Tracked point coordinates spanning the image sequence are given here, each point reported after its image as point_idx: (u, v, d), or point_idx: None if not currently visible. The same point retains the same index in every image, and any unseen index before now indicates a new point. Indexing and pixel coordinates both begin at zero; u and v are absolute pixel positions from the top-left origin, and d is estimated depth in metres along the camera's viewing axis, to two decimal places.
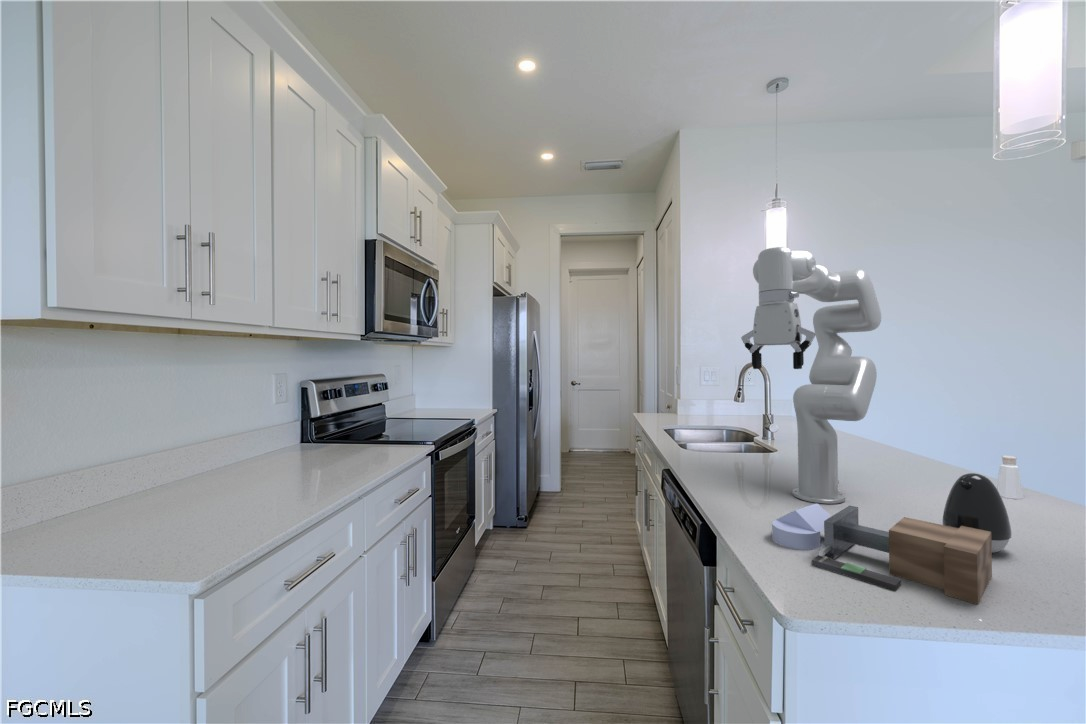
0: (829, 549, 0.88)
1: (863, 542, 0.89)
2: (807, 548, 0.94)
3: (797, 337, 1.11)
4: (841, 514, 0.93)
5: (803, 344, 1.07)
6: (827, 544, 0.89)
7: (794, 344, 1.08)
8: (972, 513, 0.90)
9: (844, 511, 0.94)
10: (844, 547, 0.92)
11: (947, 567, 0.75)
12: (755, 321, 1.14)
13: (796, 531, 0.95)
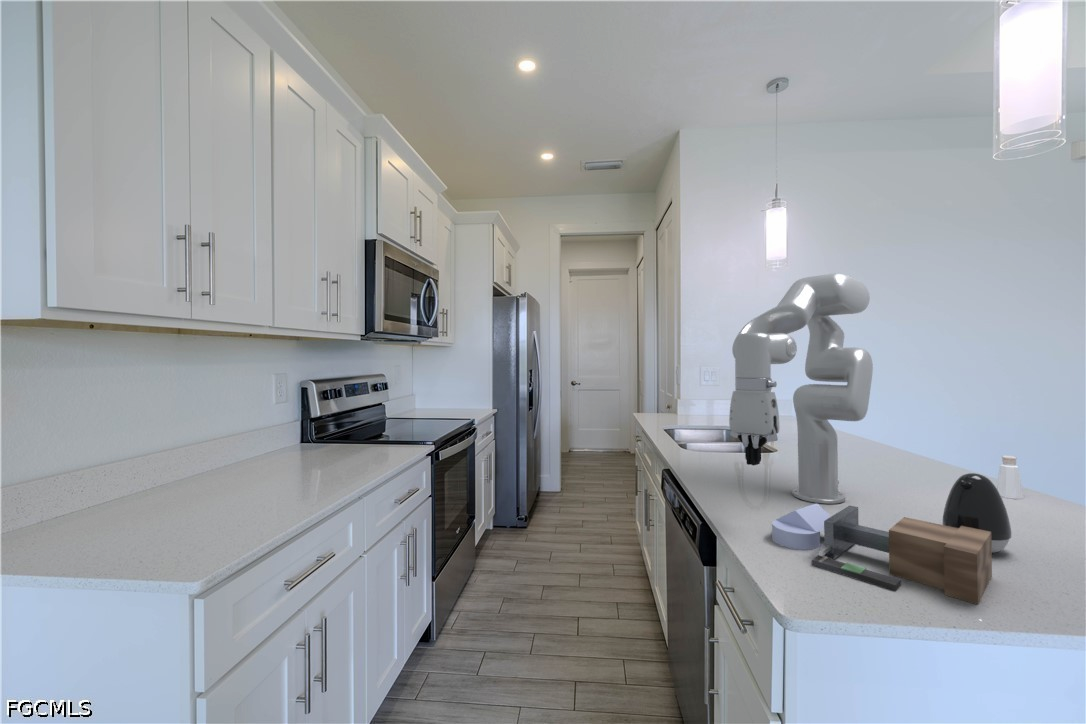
0: (829, 549, 0.88)
1: (863, 542, 0.89)
2: (807, 548, 0.94)
3: (775, 427, 1.05)
4: (841, 514, 0.93)
5: (760, 441, 1.04)
6: (827, 544, 0.89)
7: (757, 440, 1.05)
8: (972, 513, 0.90)
9: (844, 511, 0.94)
10: (844, 547, 0.92)
11: (947, 567, 0.75)
12: (731, 407, 1.09)
13: (796, 531, 0.95)
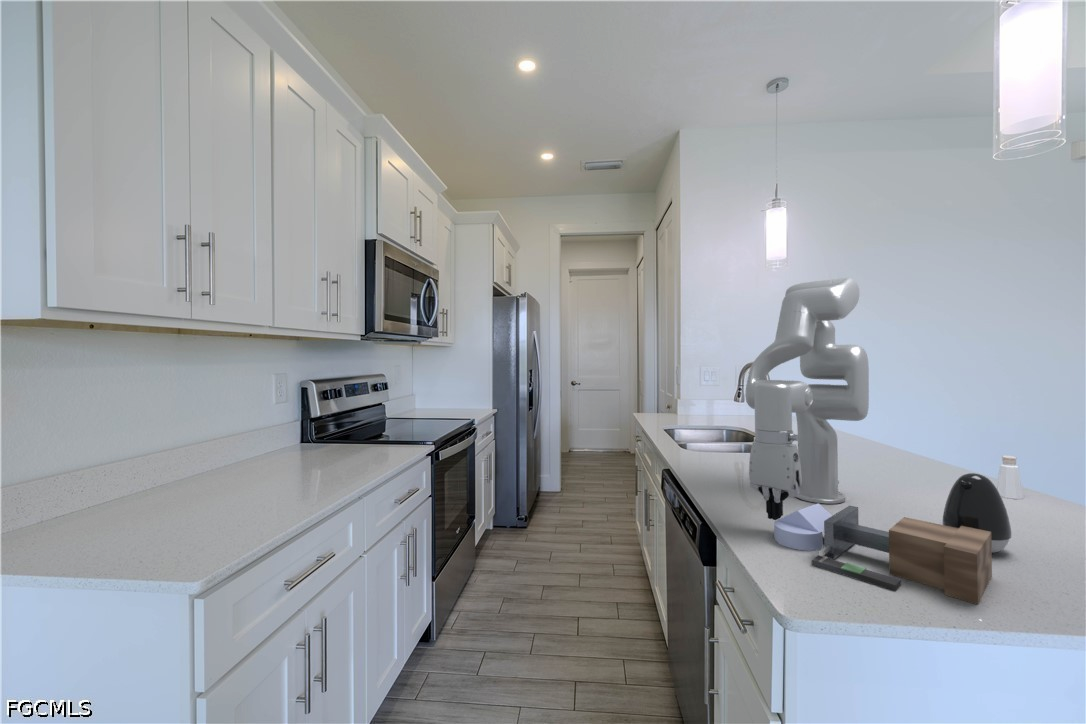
0: (829, 549, 0.88)
1: (863, 542, 0.89)
2: (810, 548, 0.93)
3: (797, 480, 1.02)
4: (841, 514, 0.93)
5: (782, 495, 1.01)
6: (827, 544, 0.89)
7: (778, 494, 1.01)
8: (972, 513, 0.90)
9: (844, 511, 0.94)
10: (844, 547, 0.92)
11: (947, 567, 0.75)
12: (751, 458, 1.05)
13: (799, 531, 0.95)
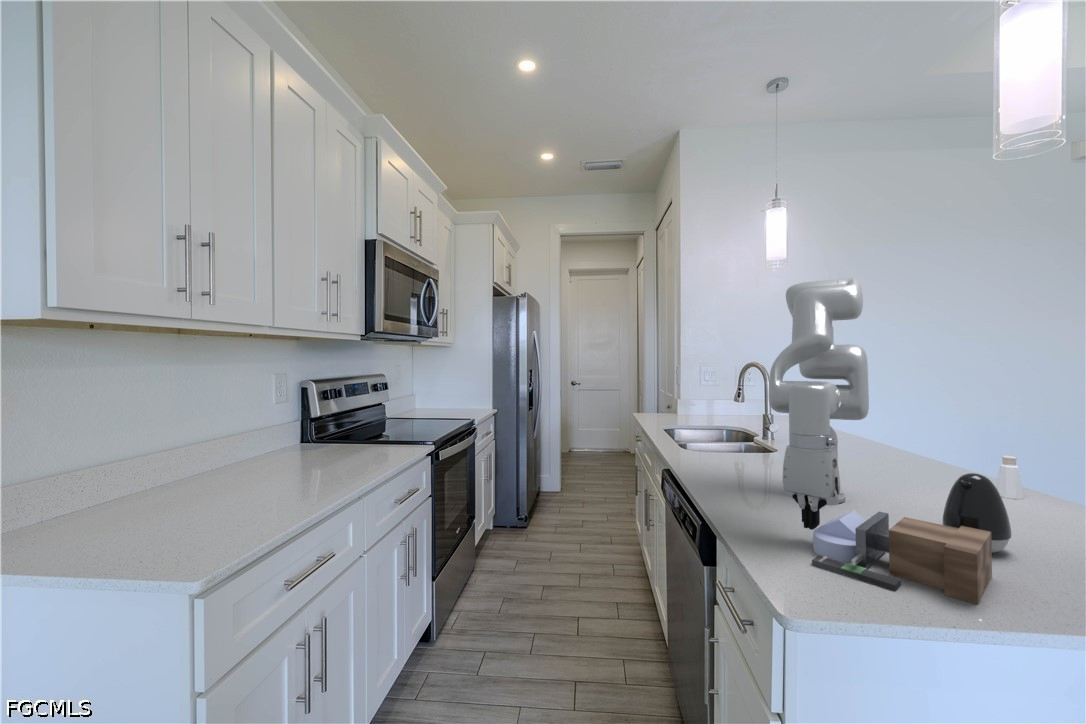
0: (861, 558, 0.84)
1: None
2: None
3: (834, 487, 0.96)
4: (872, 521, 0.88)
5: (819, 503, 0.95)
6: (859, 553, 0.85)
7: (815, 502, 0.96)
8: (972, 513, 0.90)
9: (875, 518, 0.90)
10: (875, 556, 0.88)
11: (947, 567, 0.75)
12: (785, 464, 0.99)
13: (844, 543, 0.89)
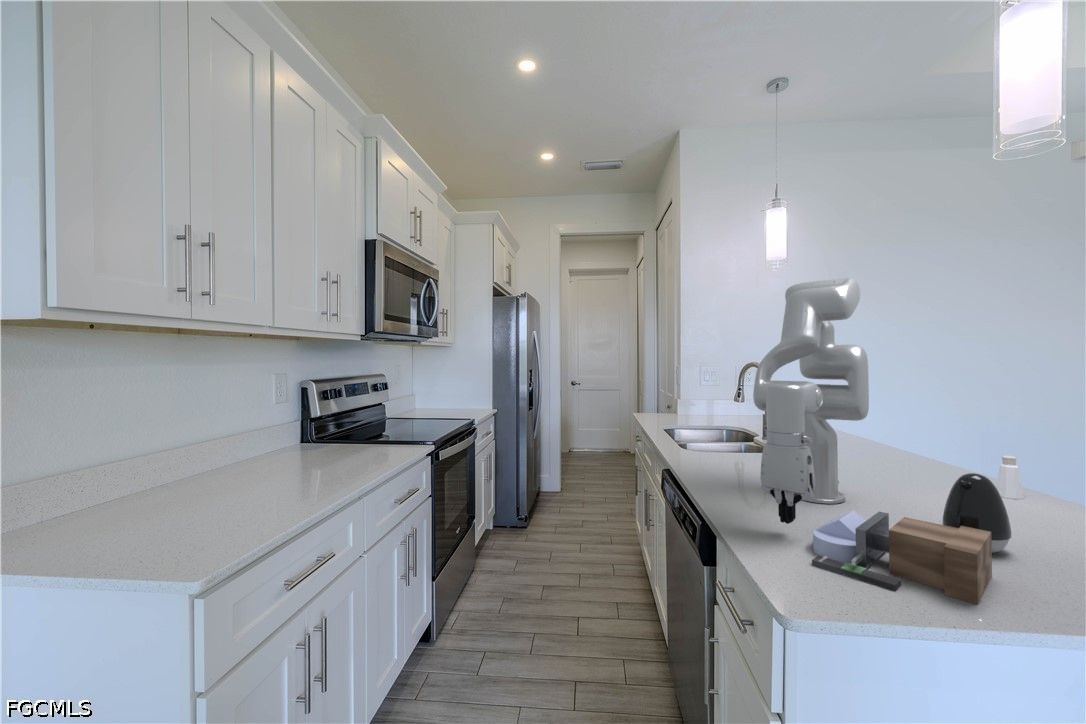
0: (861, 558, 0.84)
1: None
2: None
3: (810, 483, 1.00)
4: (872, 521, 0.88)
5: (795, 498, 0.99)
6: (859, 553, 0.85)
7: (791, 497, 0.99)
8: (972, 513, 0.90)
9: (875, 518, 0.90)
10: (876, 556, 0.87)
11: (947, 567, 0.75)
12: (763, 461, 1.03)
13: (844, 543, 0.89)
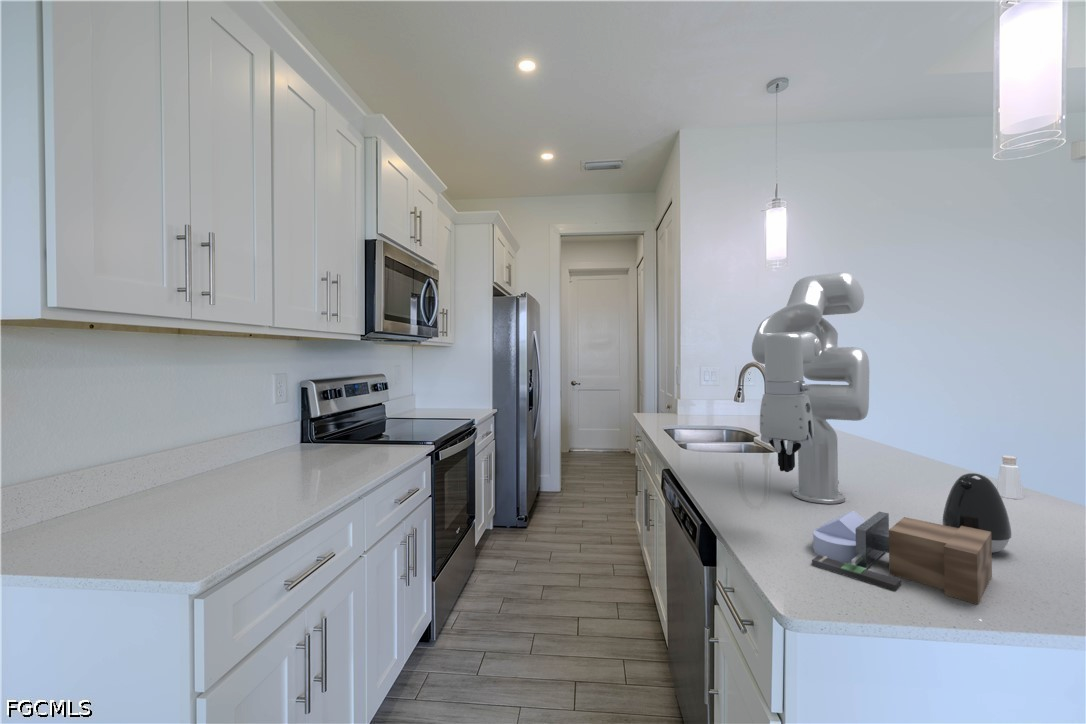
0: (861, 558, 0.84)
1: None
2: None
3: (808, 431, 1.01)
4: (872, 521, 0.88)
5: (794, 447, 1.00)
6: (859, 553, 0.85)
7: (790, 445, 1.00)
8: (972, 513, 0.90)
9: (875, 518, 0.90)
10: (876, 556, 0.87)
11: (947, 567, 0.75)
12: (762, 411, 1.03)
13: (844, 543, 0.89)
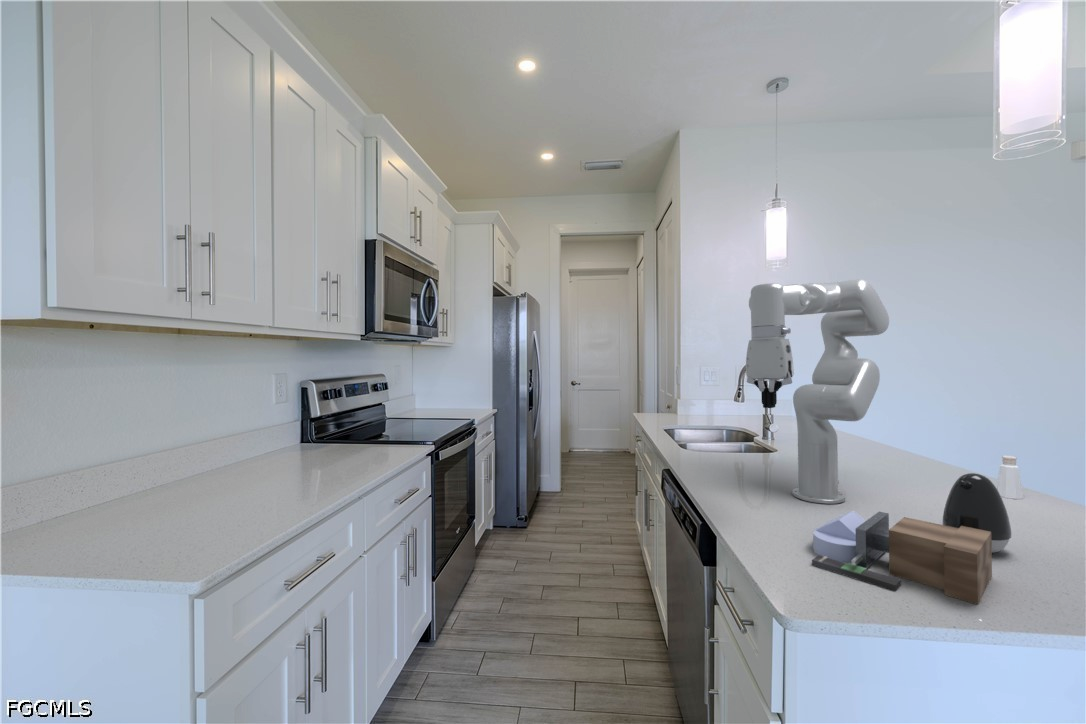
0: (861, 558, 0.84)
1: None
2: None
3: (789, 372, 1.13)
4: (872, 521, 0.88)
5: (776, 385, 1.12)
6: (859, 553, 0.85)
7: (772, 384, 1.12)
8: (972, 513, 0.90)
9: (875, 518, 0.90)
10: (876, 556, 0.87)
11: (947, 567, 0.75)
12: (748, 355, 1.16)
13: (844, 543, 0.89)
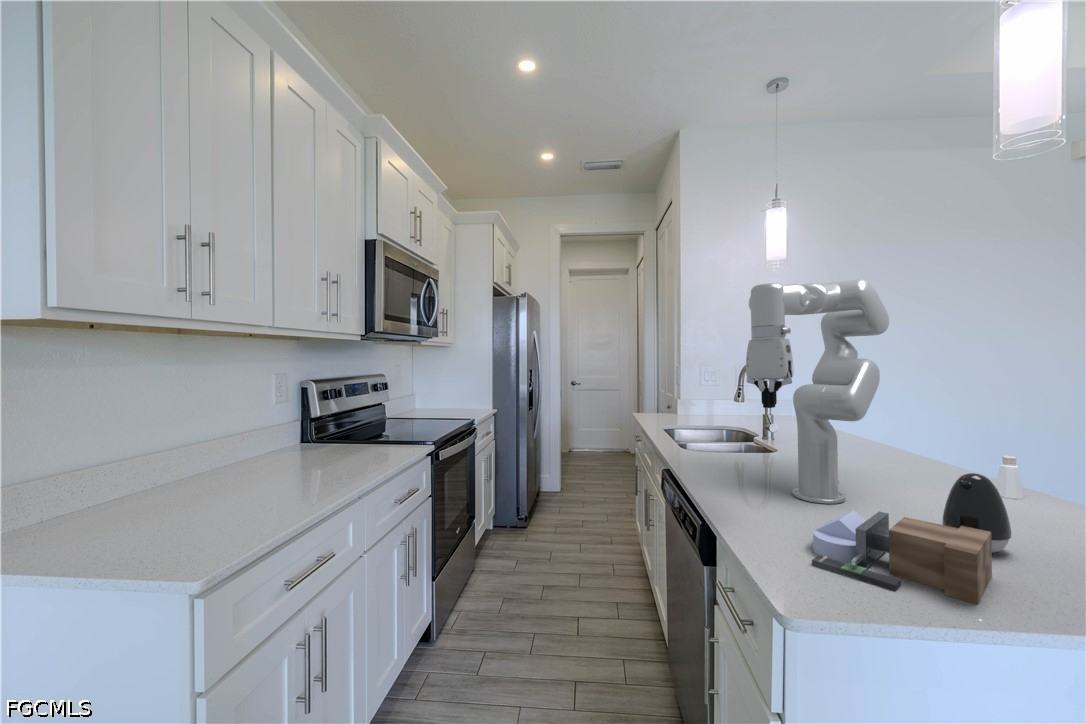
0: (861, 558, 0.84)
1: None
2: None
3: (789, 372, 1.13)
4: (872, 521, 0.88)
5: (776, 384, 1.12)
6: (859, 553, 0.85)
7: (772, 383, 1.12)
8: (972, 513, 0.90)
9: (875, 518, 0.90)
10: (876, 556, 0.87)
11: (947, 567, 0.75)
12: (748, 355, 1.16)
13: (844, 543, 0.89)
